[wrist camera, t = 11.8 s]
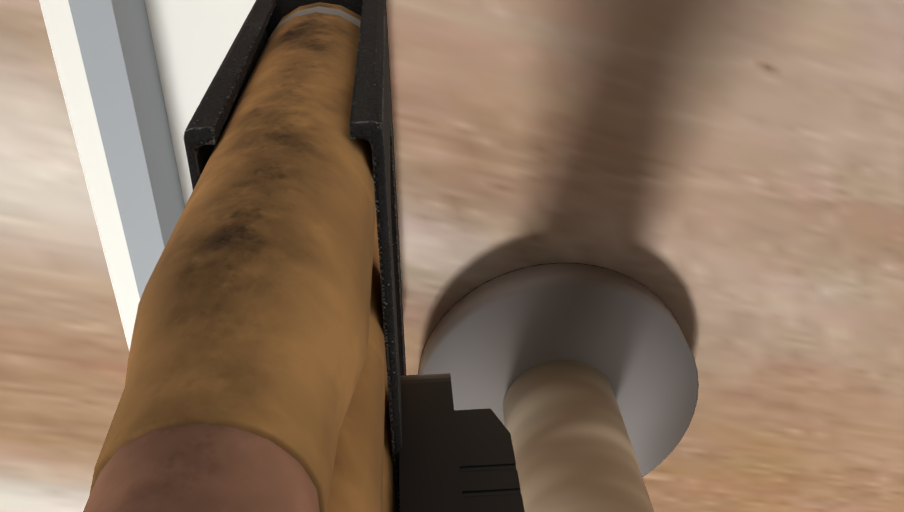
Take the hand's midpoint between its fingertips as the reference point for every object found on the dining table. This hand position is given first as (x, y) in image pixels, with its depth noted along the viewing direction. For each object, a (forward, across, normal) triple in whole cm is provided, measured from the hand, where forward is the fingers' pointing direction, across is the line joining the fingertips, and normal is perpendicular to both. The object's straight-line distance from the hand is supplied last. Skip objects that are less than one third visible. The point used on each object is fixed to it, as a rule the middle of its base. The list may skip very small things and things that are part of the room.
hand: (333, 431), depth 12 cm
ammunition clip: (+4, 0, 0) cm, 4 cm away
